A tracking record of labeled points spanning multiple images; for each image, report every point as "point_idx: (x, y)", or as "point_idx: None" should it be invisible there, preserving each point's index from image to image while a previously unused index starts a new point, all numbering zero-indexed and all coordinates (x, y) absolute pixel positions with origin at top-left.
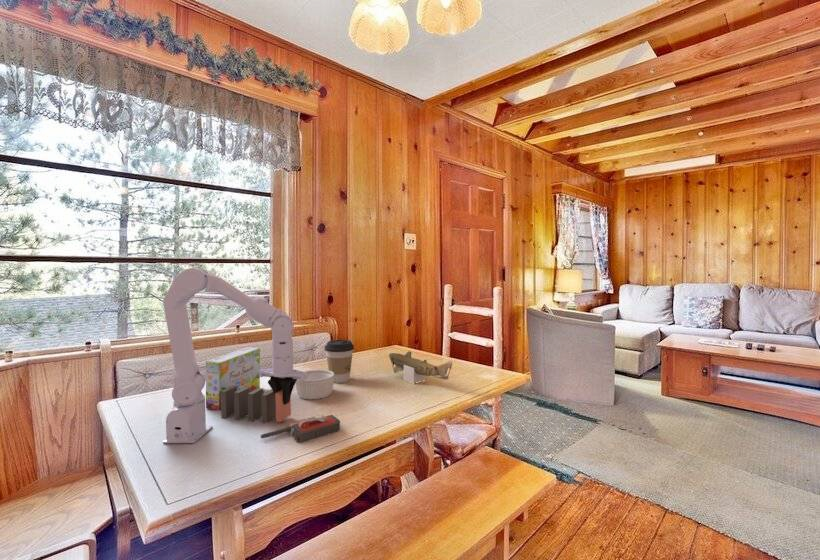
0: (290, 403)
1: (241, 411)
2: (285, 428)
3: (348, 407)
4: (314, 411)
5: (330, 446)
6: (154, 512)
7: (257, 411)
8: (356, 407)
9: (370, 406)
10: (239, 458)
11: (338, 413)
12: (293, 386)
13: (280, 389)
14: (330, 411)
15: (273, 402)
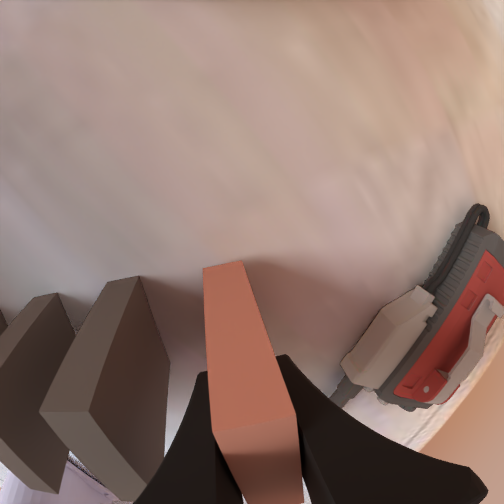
0: (255, 302)
1: None
2: (346, 401)
3: (440, 14)
4: (318, 101)
5: (486, 348)
6: None
7: None
8: (464, 14)
9: (490, 6)
10: None
11: (446, 95)
12: (385, 443)
13: (231, 487)
14: (402, 76)
15: (132, 375)
